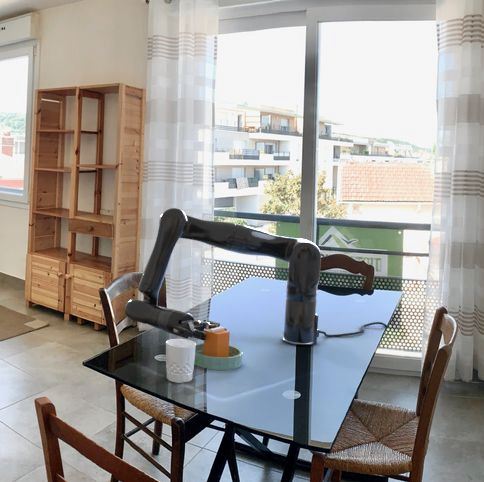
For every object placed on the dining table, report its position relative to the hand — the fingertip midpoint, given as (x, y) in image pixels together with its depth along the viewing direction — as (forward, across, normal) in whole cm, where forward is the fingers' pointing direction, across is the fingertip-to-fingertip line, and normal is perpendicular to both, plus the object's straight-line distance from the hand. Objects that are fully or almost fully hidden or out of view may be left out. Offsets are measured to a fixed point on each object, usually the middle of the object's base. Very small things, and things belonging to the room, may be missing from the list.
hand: (215, 334), depth 178 cm
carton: (0, 0, +8) cm, 8 cm away
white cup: (+4, -18, +9) cm, 20 cm away
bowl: (0, 0, +8) cm, 9 cm away
